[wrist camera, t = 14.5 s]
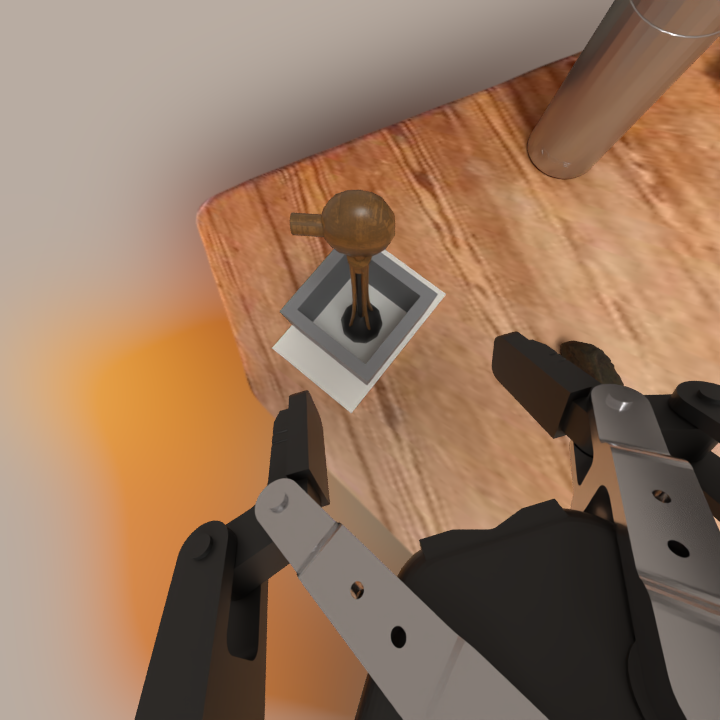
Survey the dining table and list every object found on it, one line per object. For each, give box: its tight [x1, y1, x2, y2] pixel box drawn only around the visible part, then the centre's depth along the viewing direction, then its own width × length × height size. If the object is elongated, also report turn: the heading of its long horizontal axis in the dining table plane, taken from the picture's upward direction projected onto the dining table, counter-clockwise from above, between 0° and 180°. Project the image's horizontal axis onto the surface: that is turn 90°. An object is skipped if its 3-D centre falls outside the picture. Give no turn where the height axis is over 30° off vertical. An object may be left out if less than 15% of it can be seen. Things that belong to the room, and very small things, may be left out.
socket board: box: [273, 249, 446, 413], centre depth 30 cm, size 18×12×8 cm, turn 141°
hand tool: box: [561, 341, 624, 386], centre depth 29 cm, size 19×4×5 cm, turn 20°
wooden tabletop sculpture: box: [290, 190, 395, 343], centre depth 22 cm, size 6×5×20 cm
